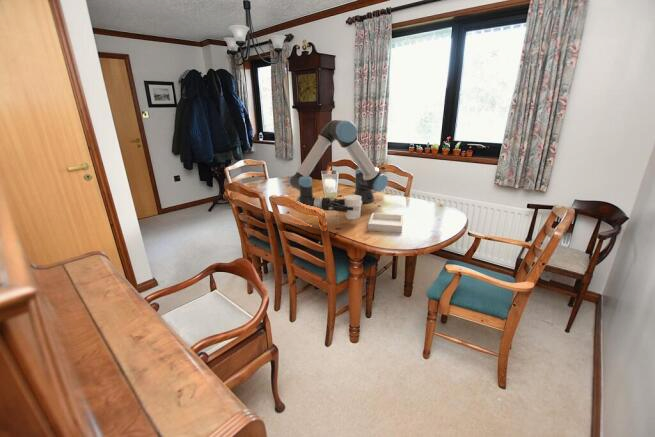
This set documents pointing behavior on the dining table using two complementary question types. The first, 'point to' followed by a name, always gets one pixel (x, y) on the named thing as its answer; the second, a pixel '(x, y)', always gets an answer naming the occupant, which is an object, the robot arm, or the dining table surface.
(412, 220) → the dining table surface
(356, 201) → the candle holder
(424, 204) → the dining table surface
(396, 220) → the crate
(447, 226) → the dining table surface
